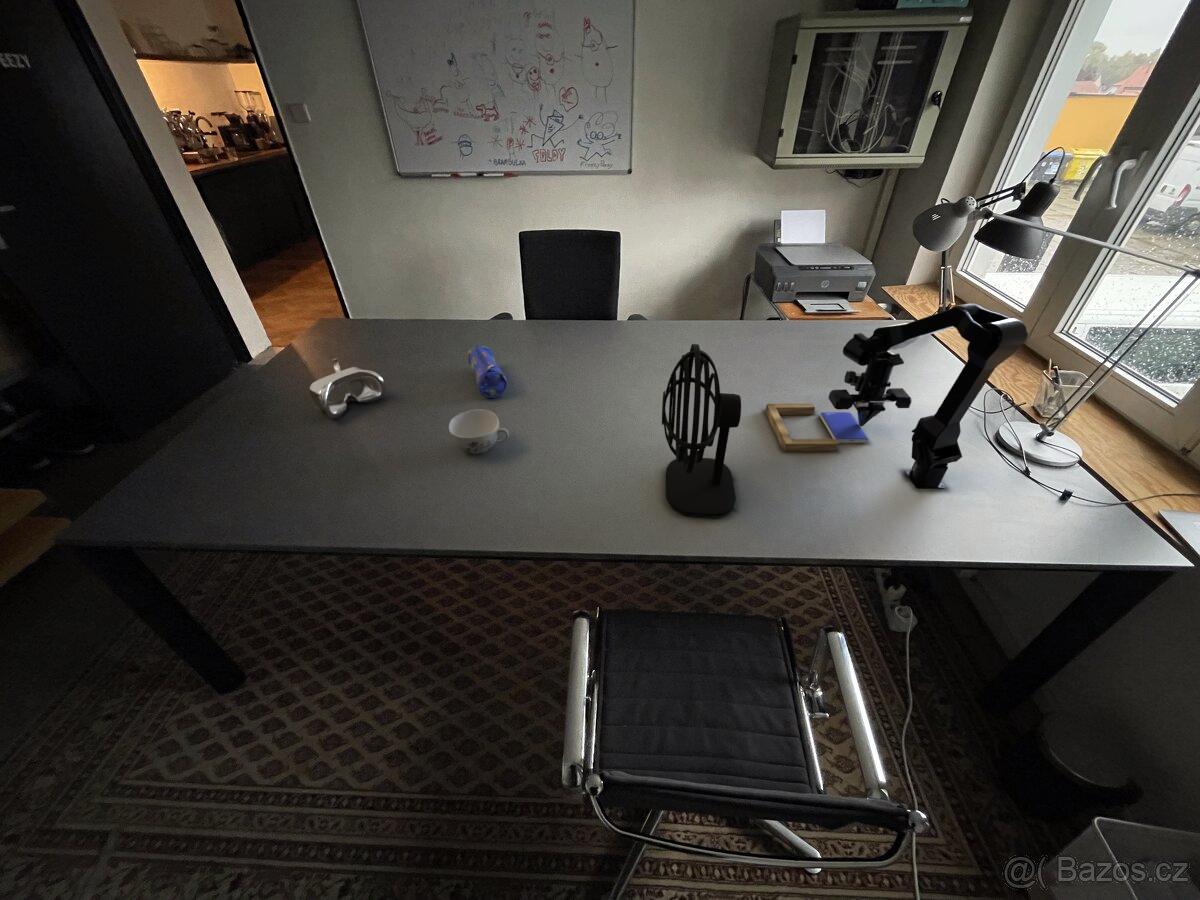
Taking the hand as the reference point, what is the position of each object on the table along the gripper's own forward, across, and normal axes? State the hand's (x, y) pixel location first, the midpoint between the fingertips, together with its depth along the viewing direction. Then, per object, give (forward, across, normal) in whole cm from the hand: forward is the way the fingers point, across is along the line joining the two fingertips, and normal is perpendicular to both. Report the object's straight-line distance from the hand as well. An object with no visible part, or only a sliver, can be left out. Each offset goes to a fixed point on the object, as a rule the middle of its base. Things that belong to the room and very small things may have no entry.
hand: (860, 425), depth 135 cm
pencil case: (-1, +106, -26) cm, 109 cm away
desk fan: (0, +47, +24) cm, 53 cm away
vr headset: (-2, +144, -12) cm, 144 cm away
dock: (+1, +15, 0) cm, 15 cm away
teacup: (-1, +100, +8) cm, 101 cm away
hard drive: (+1, +4, 0) cm, 5 cm away
